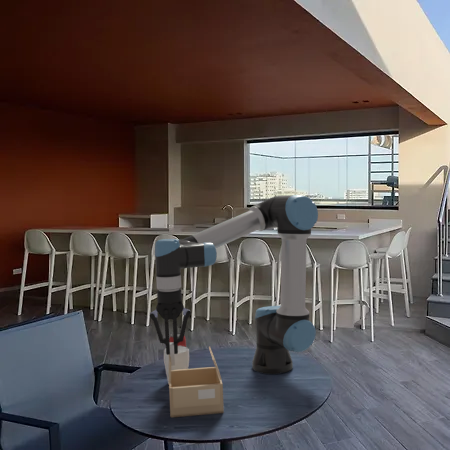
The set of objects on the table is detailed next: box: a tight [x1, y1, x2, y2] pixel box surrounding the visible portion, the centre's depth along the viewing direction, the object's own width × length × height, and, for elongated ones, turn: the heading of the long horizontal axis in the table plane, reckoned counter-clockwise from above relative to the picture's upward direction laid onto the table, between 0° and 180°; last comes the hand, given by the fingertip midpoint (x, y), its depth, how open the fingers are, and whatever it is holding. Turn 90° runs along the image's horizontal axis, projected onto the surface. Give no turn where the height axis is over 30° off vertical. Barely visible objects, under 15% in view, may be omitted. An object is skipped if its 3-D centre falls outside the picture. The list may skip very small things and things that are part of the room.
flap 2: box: [208, 346, 222, 380], centre depth 160 cm, size 1×14×6 cm, turn 7°
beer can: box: [169, 332, 187, 347], centre depth 198 cm, size 7×7×12 cm
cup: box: [163, 346, 190, 385], centre depth 179 cm, size 9×9×12 cm
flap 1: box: [168, 354, 171, 385], centre depth 158 cm, size 1×14×6 cm, turn 8°
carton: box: [168, 366, 225, 419], centre depth 160 cm, size 16×16×9 cm
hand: (172, 364), depth 158 cm, fingers closed
